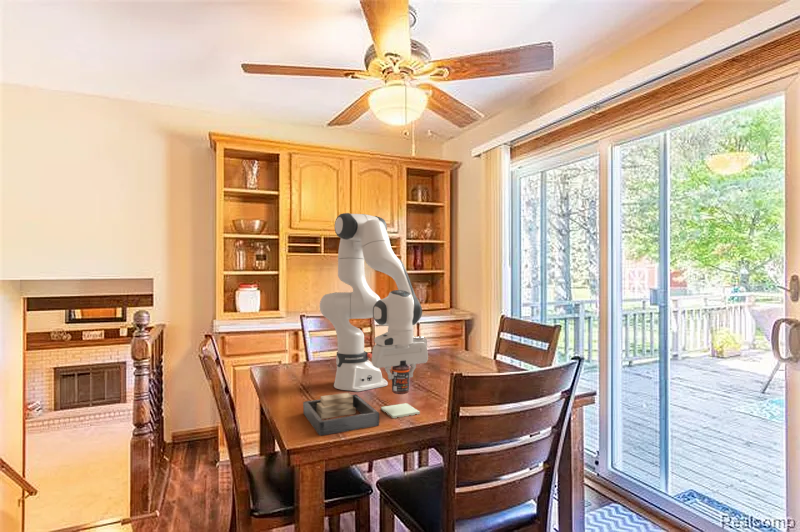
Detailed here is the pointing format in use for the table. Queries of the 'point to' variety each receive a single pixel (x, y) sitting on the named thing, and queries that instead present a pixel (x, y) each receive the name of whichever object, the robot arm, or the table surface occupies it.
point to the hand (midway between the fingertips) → (400, 378)
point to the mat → (400, 410)
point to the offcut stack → (335, 405)
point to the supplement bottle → (400, 378)
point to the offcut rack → (330, 426)
